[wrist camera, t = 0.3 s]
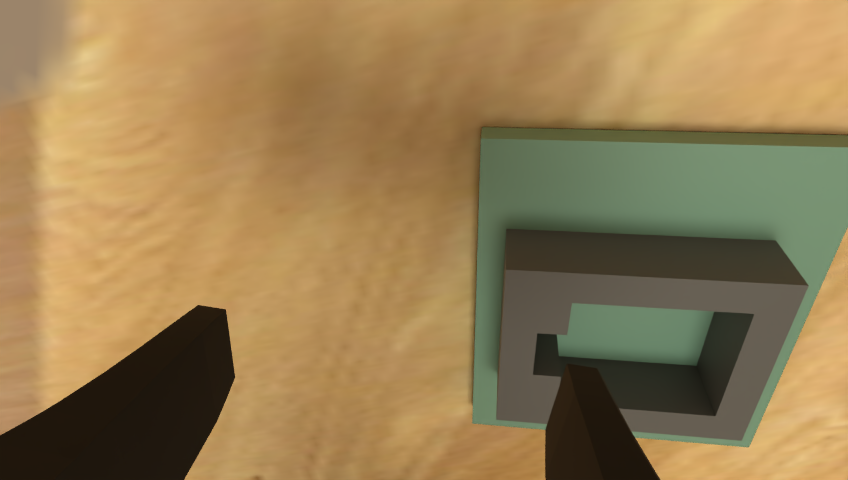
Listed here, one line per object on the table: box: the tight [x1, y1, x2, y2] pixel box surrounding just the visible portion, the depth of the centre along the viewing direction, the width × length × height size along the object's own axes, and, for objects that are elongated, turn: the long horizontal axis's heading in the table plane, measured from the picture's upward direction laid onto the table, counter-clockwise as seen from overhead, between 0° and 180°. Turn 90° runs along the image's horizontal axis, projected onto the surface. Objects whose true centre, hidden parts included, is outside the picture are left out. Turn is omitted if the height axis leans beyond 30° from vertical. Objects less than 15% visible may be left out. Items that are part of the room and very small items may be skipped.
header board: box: [472, 127, 848, 447], centre depth 21 cm, size 14×12×4 cm
